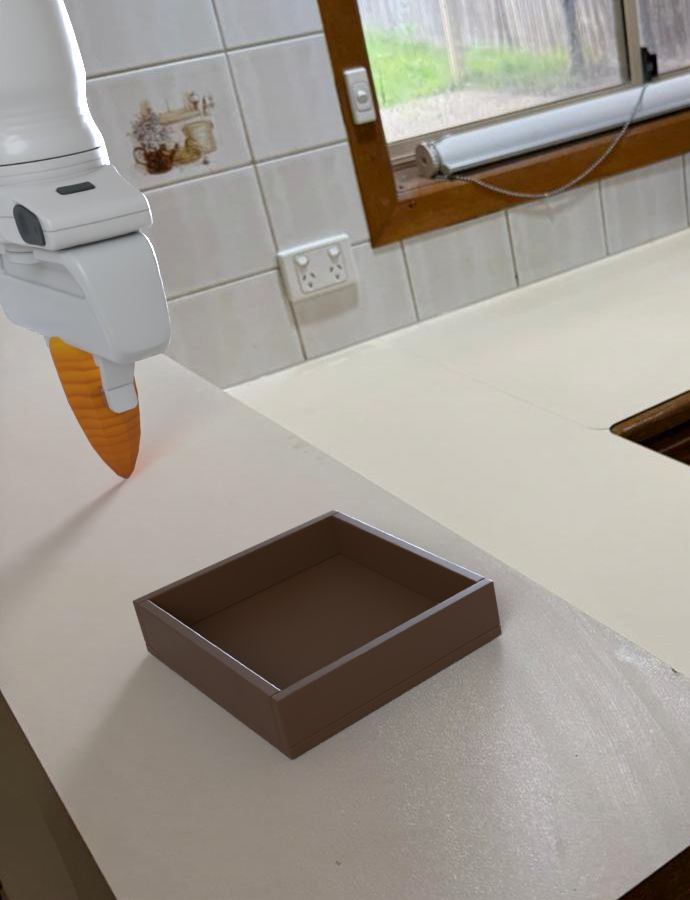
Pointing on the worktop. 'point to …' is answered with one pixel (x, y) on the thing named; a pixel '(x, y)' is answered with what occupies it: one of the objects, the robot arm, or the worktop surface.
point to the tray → (317, 627)
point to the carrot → (97, 408)
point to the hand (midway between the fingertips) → (104, 400)
